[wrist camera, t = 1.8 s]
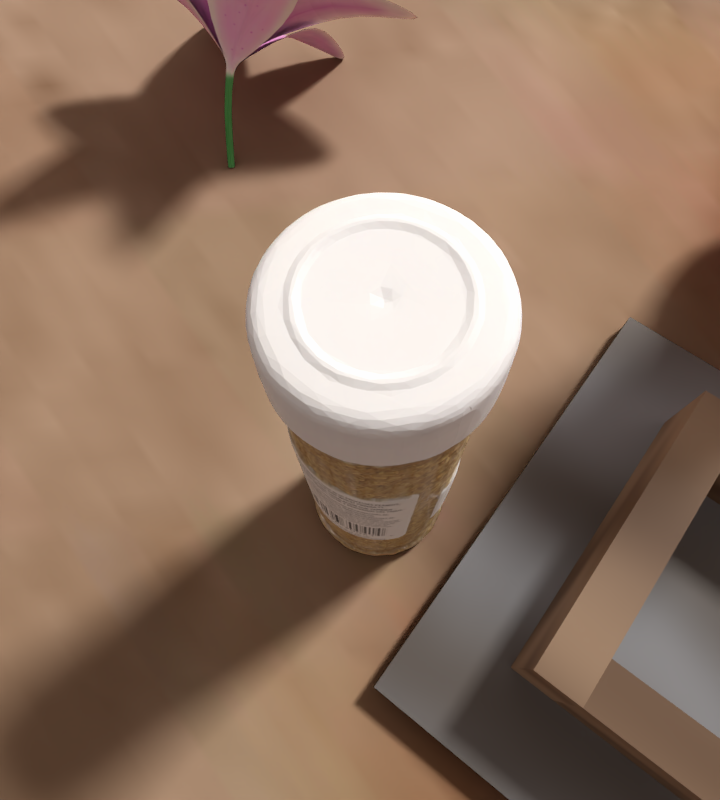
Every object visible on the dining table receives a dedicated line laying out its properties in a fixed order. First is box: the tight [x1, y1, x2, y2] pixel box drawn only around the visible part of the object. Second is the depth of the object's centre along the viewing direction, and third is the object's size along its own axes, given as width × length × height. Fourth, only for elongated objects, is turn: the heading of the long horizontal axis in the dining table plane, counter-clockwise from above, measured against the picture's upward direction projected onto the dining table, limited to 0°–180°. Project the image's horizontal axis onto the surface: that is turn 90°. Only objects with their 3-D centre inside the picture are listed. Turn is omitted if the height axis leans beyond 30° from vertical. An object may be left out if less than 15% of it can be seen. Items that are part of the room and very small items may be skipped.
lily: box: [178, 0, 417, 168], centre depth 26 cm, size 12×12×10 cm
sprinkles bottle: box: [246, 193, 522, 556], centre depth 16 cm, size 5×5×14 cm
